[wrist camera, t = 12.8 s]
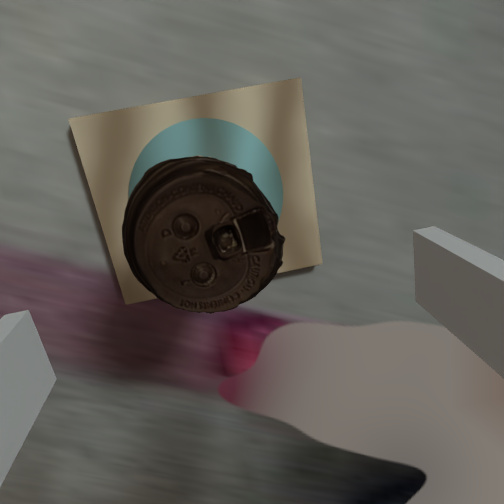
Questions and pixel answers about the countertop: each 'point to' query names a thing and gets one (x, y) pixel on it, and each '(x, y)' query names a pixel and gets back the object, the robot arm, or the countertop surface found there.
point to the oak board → (208, 145)
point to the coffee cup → (201, 234)
